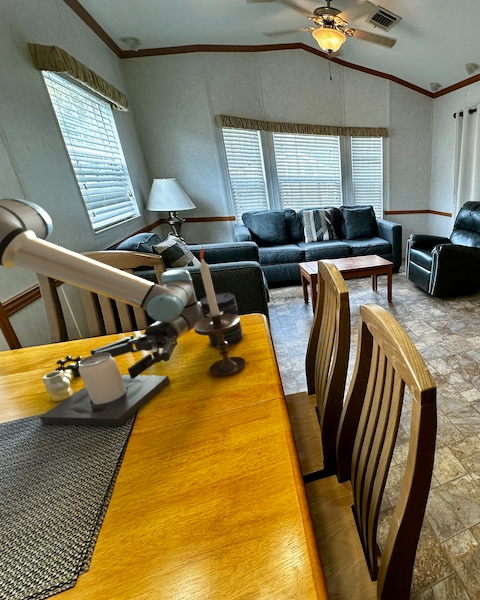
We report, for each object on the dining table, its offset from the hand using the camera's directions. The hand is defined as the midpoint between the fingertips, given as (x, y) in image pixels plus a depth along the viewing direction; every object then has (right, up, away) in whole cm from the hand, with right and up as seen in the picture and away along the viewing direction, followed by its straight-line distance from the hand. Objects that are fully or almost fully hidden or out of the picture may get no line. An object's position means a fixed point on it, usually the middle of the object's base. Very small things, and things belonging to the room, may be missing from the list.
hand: (103, 373), depth 77 cm
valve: (-15, -6, +7) cm, 18 cm away
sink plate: (0, -7, +2) cm, 8 cm away
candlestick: (+22, -2, +16) cm, 27 cm away
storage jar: (+13, +4, +31) cm, 34 cm away
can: (0, -8, +2) cm, 8 cm away
